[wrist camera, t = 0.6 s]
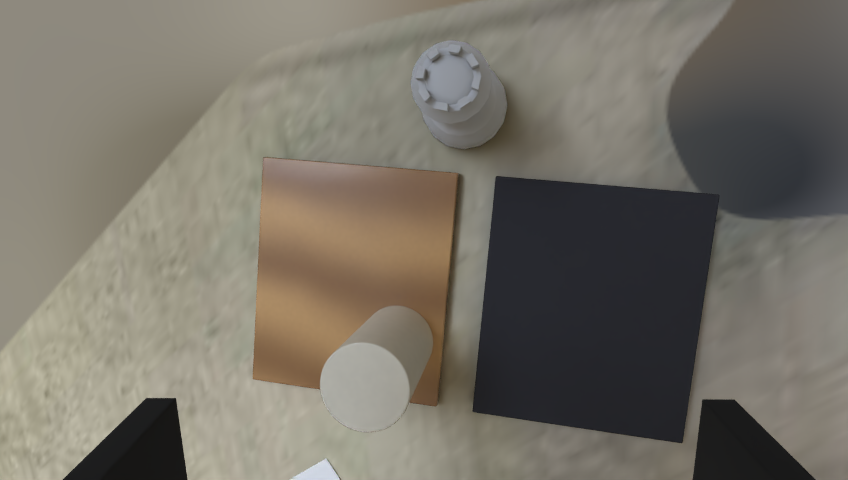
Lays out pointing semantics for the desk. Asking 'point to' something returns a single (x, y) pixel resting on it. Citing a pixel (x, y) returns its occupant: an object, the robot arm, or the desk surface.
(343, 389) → the ivory piece
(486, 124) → the rook chess piece
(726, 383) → the desk surface
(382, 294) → the brown square board
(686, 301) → the dark mat
